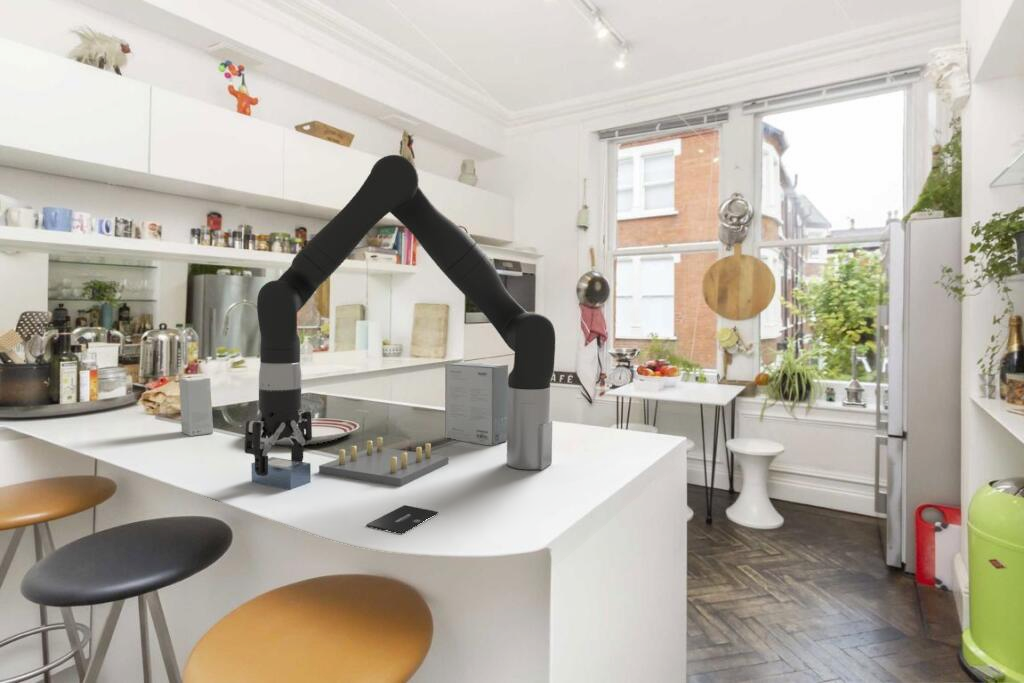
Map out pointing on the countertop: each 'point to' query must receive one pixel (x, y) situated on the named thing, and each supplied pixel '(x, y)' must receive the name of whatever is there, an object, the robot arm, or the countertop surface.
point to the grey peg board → (384, 464)
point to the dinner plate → (325, 430)
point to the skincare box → (196, 406)
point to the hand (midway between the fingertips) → (280, 469)
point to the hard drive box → (476, 402)
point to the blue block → (284, 473)
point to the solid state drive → (402, 519)
